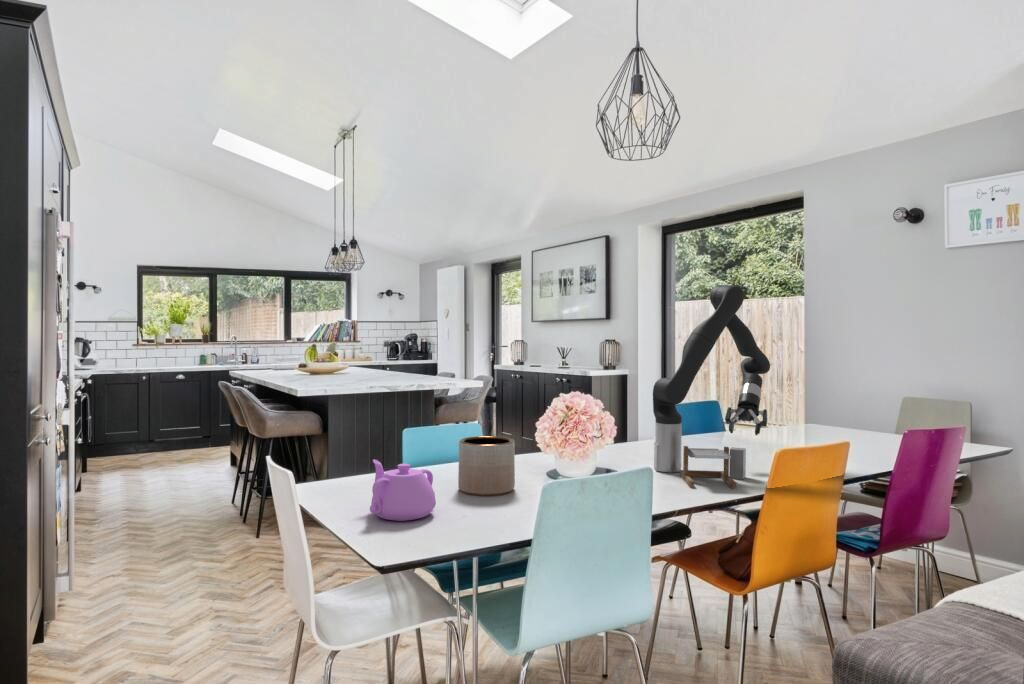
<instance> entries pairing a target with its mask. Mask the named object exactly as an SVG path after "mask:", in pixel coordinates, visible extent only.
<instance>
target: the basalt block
mask: <svg viewBox="0 0 1024 684" xmlns="http://www.w3.org/2000/svg"><path fill="white" fill-rule="evenodd" d="M746 449H747V448H745V447H735V446H734V447H730V448H729V455H730V456H731V459H729V477H730V478H732V479H733V480H741V481H742V480H745V478H746V477H747V475H746V473H747V472H746V471H747V470H746V469H747V468H746V466H747V465H746V463H747V460H746V459H747V457H746V455H747V454H746V453H747V450H746Z"/></svg>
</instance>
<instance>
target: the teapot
mask: <svg viewBox="0 0 1024 684" xmlns="http://www.w3.org/2000/svg"><path fill="white" fill-rule="evenodd" d="M372 462H373V464H374V468H375V478H374V483H373V485H372V489H371V490H372V491H371V492H372V497H371V502H370V503H371V505H370V506H369V511H370V513H371V514H372V515H377V517H379V518H380V519H384V520H388V521H398V522H407V521H412V520H413V521H414V520H418V519H422V518H423V519H424V518H426V517H427V516H428V515H430V513H432V511H433V510H434V508H436V501H437V500H436V493H435V491H434V489H433V481H434V475H433V473H432V472H431V470H429V469H425V468H424V469H423V468H422V469H415V468H411V464H410V463H399V464H397V465H396V467H397V468H396V469H390V470H386V472H385V471H384V467H383V465H382V463H381V462H380V461H379V460H378V459H372ZM425 474H426V475H425Z"/></svg>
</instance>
